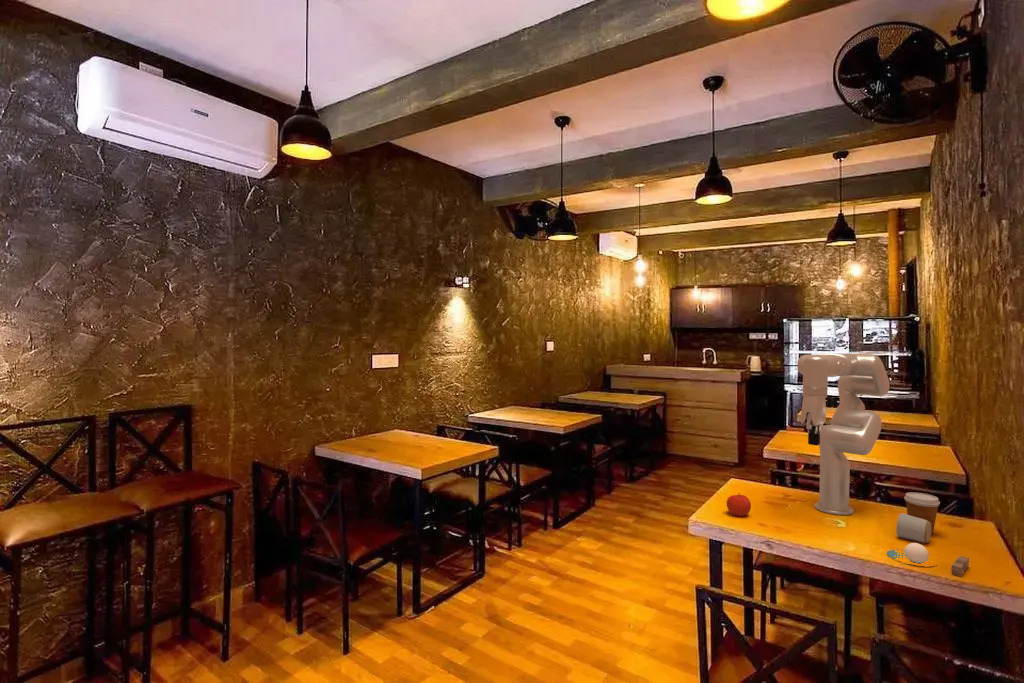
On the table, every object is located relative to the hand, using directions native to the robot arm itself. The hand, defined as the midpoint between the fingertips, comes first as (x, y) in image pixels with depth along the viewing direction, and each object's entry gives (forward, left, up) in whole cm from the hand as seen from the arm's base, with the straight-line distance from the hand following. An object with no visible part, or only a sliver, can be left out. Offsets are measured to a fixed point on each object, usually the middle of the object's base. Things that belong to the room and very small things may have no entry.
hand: (813, 444), depth 188 cm
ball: (+13, +33, -24) cm, 43 cm away
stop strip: (+9, +42, -27) cm, 51 cm away
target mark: (+10, +31, -27) cm, 42 cm away
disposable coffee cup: (-18, +27, -27) cm, 42 cm away
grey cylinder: (-9, +27, -27) cm, 40 cm away
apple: (+13, -20, -27) cm, 36 cm away
